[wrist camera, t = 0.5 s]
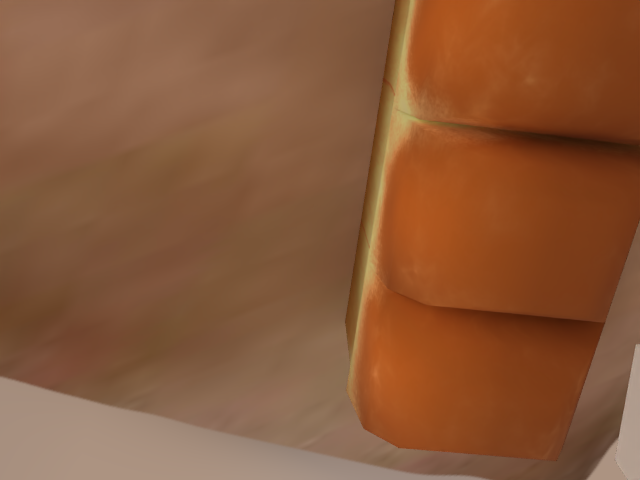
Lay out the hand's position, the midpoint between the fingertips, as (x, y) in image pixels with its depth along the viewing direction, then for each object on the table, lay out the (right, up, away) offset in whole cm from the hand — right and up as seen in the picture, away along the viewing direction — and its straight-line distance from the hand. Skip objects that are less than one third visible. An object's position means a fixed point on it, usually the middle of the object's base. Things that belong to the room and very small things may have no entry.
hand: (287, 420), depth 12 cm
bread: (+10, +8, +27) cm, 30 cm away
